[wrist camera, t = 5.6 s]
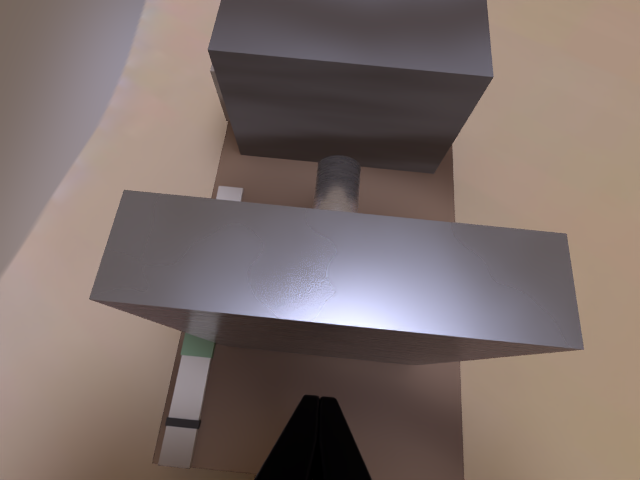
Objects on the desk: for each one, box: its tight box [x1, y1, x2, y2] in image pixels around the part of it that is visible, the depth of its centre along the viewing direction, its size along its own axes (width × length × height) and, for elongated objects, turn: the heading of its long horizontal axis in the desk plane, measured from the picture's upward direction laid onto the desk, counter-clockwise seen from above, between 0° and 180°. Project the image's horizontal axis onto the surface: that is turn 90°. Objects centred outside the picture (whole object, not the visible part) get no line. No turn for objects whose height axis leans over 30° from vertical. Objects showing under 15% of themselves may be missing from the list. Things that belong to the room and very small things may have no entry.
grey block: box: [89, 155, 584, 365], centre depth 12 cm, size 6×10×10 cm, turn 84°
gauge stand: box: [152, 0, 493, 480], centre depth 15 cm, size 18×12×8 cm, turn 174°
